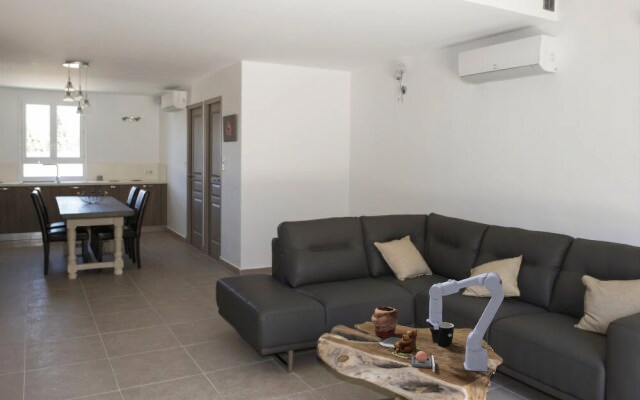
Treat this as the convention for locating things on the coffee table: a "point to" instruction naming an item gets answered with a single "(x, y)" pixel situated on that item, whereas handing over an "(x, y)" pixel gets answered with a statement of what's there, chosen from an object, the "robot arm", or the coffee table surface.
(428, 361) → the dish
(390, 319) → the decorative planter
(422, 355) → the ball
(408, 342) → the bear figurine
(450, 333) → the mug
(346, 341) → the coffee table surface
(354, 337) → the coffee table surface
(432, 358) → the acrylic wall
